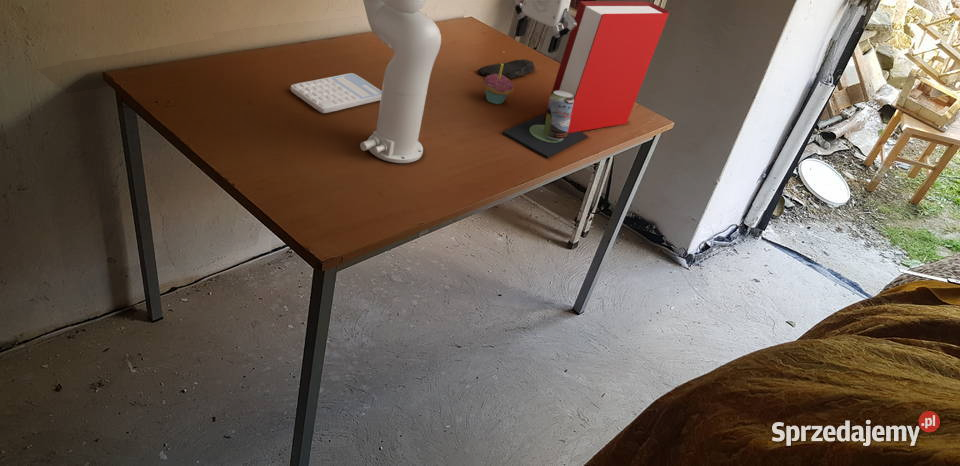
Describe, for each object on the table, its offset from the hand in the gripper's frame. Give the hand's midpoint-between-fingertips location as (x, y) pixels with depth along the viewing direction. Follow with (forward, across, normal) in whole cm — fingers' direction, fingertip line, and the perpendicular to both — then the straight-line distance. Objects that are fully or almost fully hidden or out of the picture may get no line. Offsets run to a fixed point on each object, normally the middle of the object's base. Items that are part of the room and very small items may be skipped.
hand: (535, 43), depth 168 cm
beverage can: (+22, +9, +6) cm, 25 cm away
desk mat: (+23, +7, +6) cm, 25 cm away
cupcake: (+23, -13, +9) cm, 28 cm away
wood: (+23, -22, +29) cm, 43 cm away
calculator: (+24, -34, -28) cm, 50 cm away
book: (+22, +9, +24) cm, 34 cm away
